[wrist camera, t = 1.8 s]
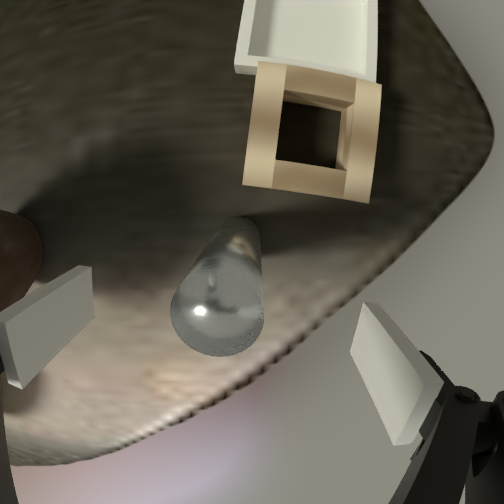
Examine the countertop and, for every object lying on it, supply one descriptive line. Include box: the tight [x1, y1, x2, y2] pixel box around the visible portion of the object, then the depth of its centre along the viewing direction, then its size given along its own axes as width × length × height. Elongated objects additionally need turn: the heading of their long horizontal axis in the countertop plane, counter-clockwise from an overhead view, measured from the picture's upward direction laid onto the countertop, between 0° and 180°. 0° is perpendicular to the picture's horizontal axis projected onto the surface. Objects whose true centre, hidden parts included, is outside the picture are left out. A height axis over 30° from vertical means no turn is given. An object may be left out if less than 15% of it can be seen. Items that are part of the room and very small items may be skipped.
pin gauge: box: [170, 216, 264, 357], centre depth 21 cm, size 4×4×16 cm
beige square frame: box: [242, 61, 382, 203], centre depth 24 cm, size 10×10×4 cm
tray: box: [234, 0, 378, 83], centre depth 22 cm, size 12×12×2 cm
